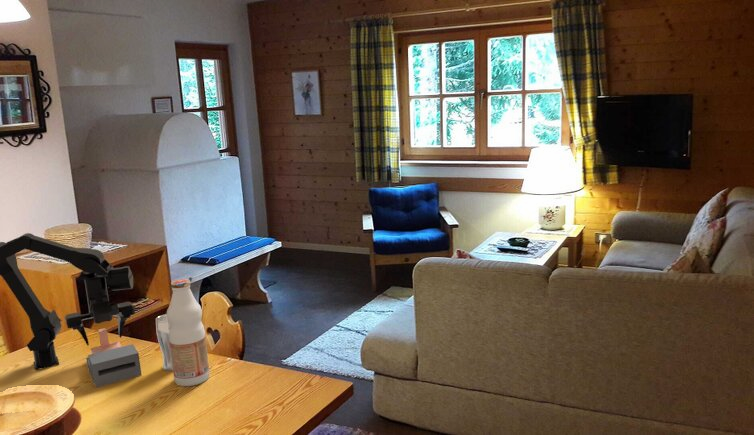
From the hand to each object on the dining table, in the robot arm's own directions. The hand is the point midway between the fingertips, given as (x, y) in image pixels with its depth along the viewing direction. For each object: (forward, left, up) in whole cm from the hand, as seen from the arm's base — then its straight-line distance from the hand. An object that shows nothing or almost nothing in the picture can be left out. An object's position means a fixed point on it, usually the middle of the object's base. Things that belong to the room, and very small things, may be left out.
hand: (104, 341), depth 188 cm
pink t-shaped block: (+7, 0, -2) cm, 7 cm away
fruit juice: (+33, +17, -5) cm, 37 cm away
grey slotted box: (+13, 0, -5) cm, 14 cm away
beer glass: (+21, +15, -5) cm, 26 cm away
